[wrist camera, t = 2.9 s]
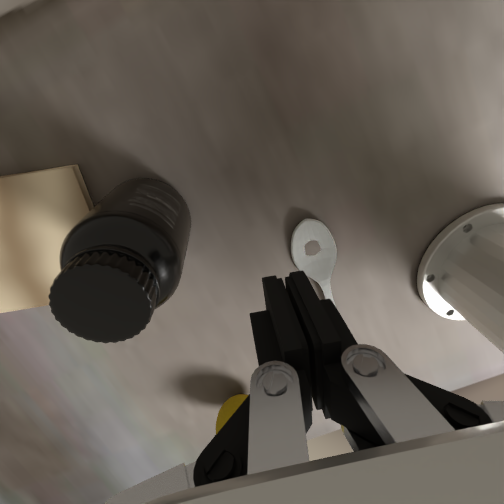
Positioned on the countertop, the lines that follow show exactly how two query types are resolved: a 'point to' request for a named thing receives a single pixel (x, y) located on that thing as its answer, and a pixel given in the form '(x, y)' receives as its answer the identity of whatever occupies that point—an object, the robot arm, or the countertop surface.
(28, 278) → the cutting board
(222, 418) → the lemon
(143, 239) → the supplement bottle
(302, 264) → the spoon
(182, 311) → the countertop surface
